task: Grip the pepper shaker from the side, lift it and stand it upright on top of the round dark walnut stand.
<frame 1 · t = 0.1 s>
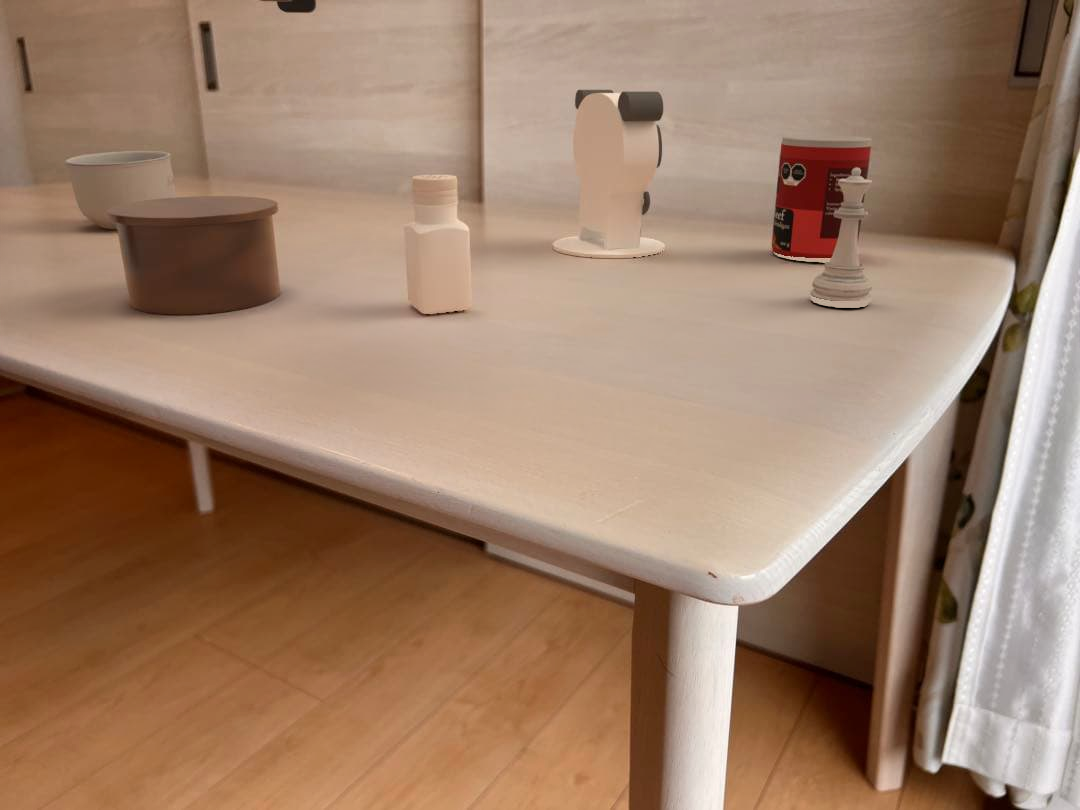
hand: (287, 7, 47), 20 cm above the table, tool pointing down, fingers open, 8 cm apart
chess piece: (839, 305, 66), on the table
walnut stand: (207, 297, 67), on the table
canned food: (812, 258, 83), on the table
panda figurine: (610, 250, 87), on the table
teacup: (124, 226, 100), on the table
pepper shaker: (439, 311, 64), on the table
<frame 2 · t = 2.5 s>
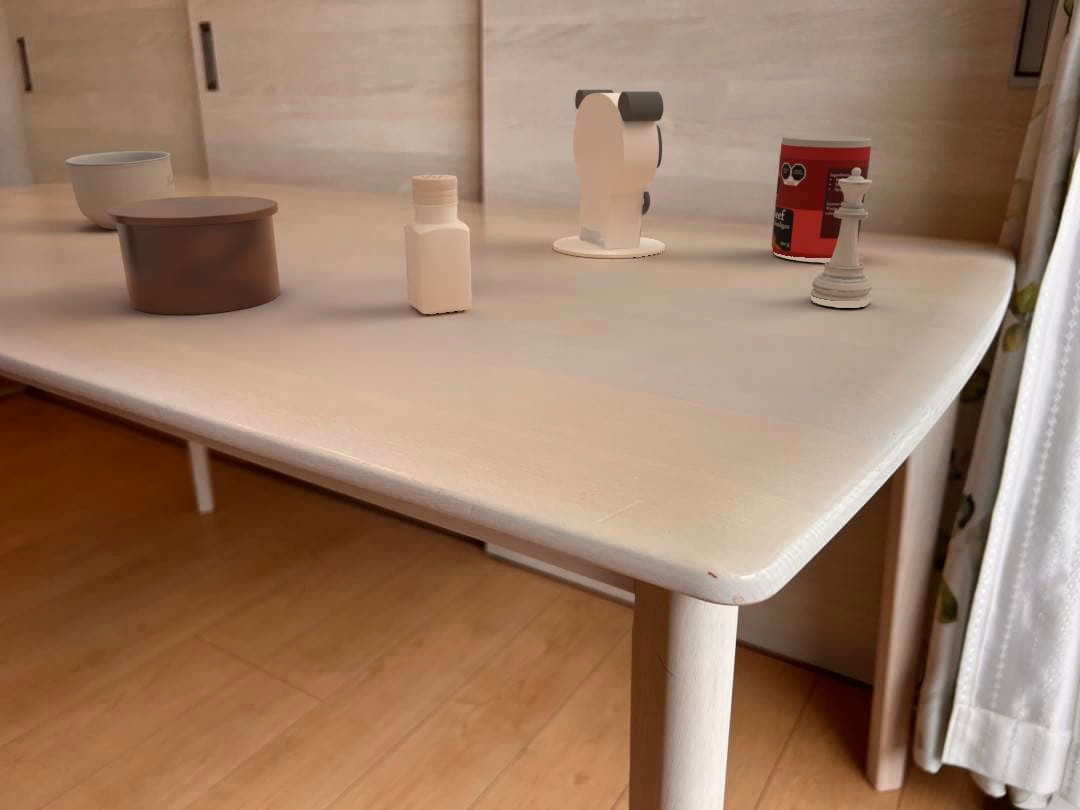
nothing on the table moved.
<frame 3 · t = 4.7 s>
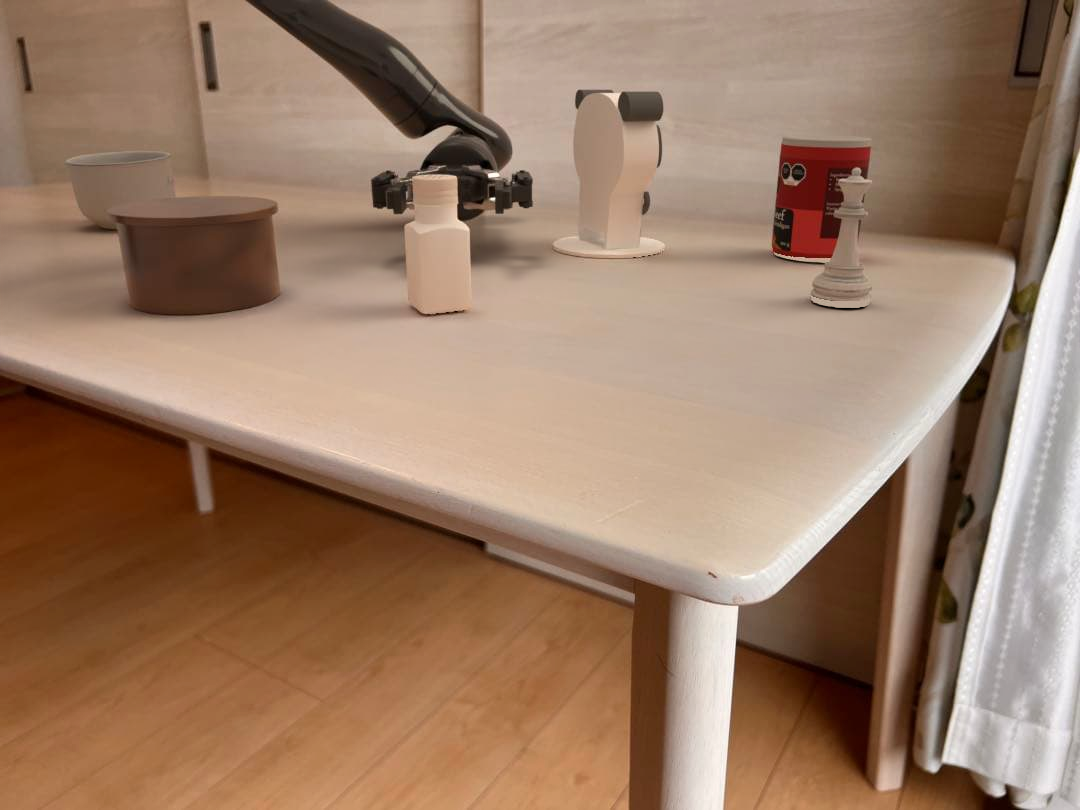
hand: (448, 201, 71), 6 cm above the table, tool horizontal, fingers open, 8 cm apart
nothing on the table moved.
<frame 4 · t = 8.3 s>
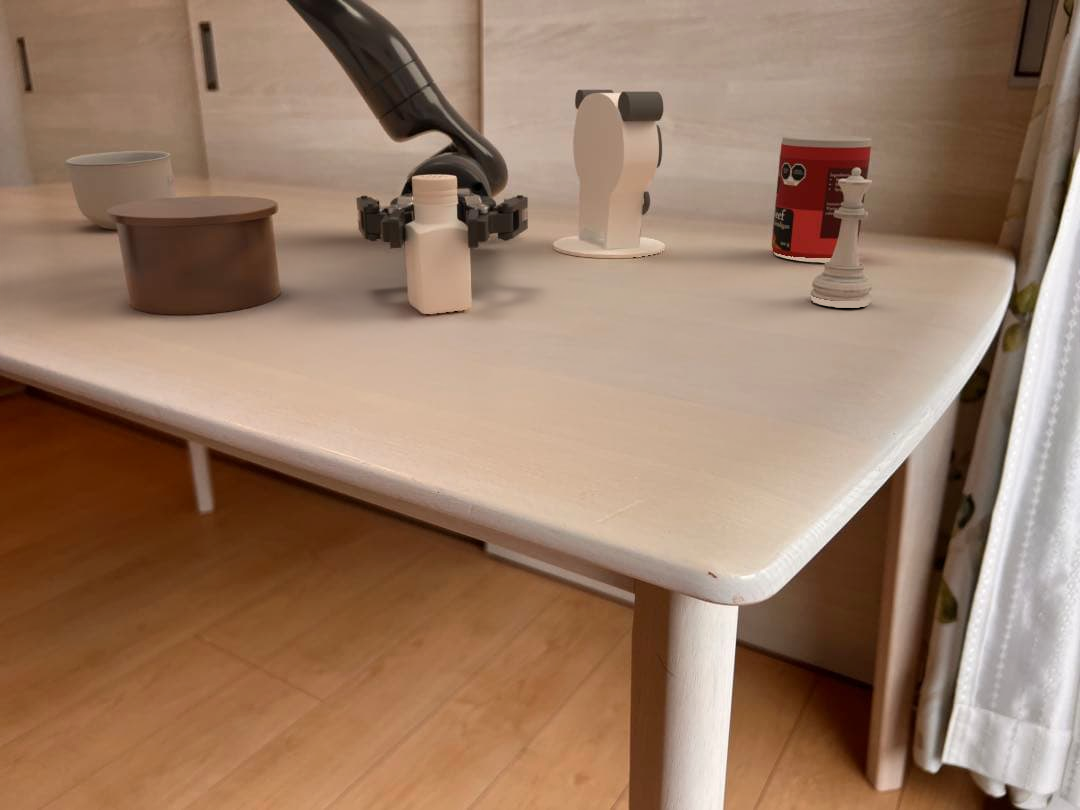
hand: (434, 233, 59), 6 cm above the table, tool horizontal, fingers closed on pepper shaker, 4 cm apart
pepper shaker: (440, 311, 64), on the table, touching gripper
everything else where it was.
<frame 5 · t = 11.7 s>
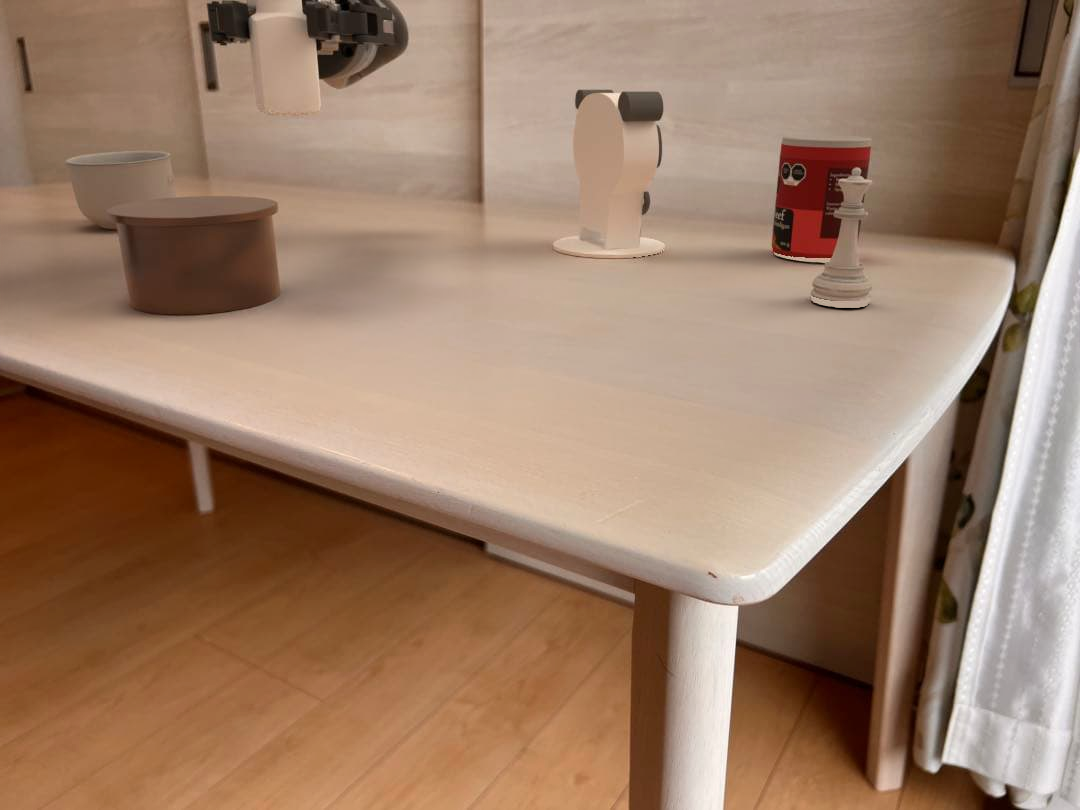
hand: (270, 18, 56), 20 cm above the table, tool horizontal, fingers closed on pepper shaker, 4 cm apart
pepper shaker: (289, 117, 60), point 13 cm above the table, touching gripper
everything else where it was.
when the fingers open (13 cm above the table, at t = 15.1 s): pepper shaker stays where it is, resting on walnut stand.
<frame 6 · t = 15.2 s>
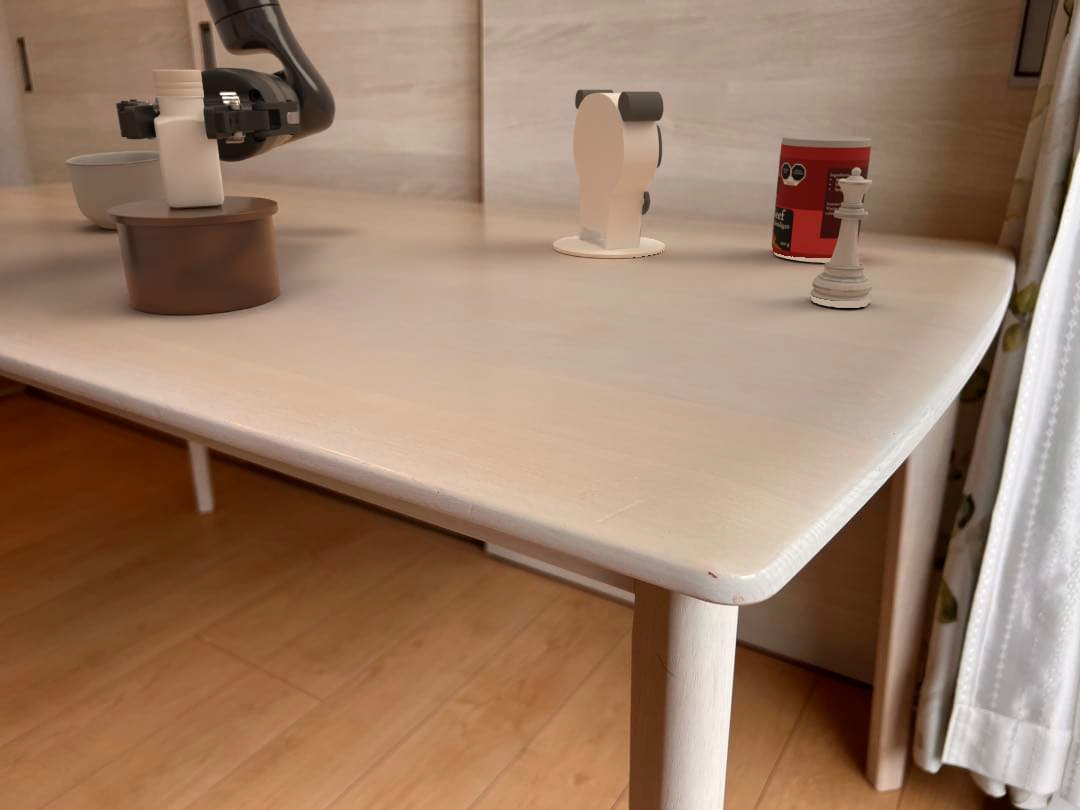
hand: (171, 123, 60), 13 cm above the table, tool horizontal, fingers open, 5 cm apart
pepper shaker: (196, 208, 65), point 7 cm above the table, touching walnut stand
everything else where it was.
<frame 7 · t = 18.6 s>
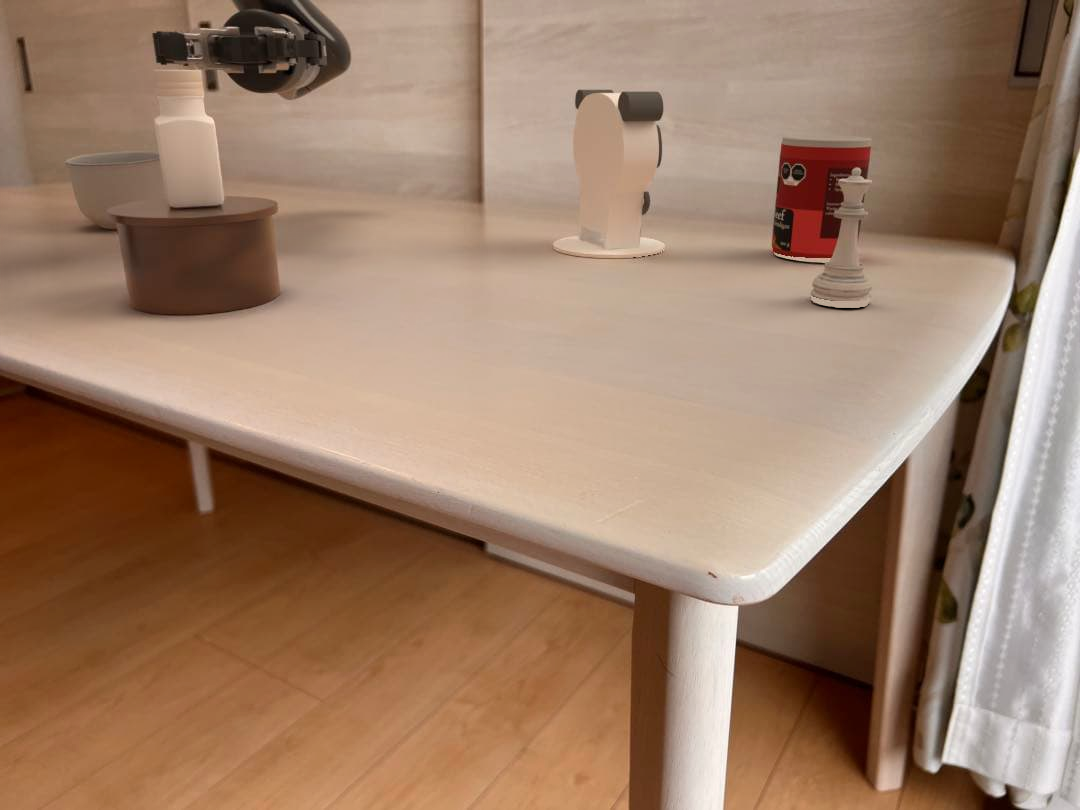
hand: (219, 46, 71), 18 cm above the table, tool horizontal, fingers open, 8 cm apart
nothing on the table moved.
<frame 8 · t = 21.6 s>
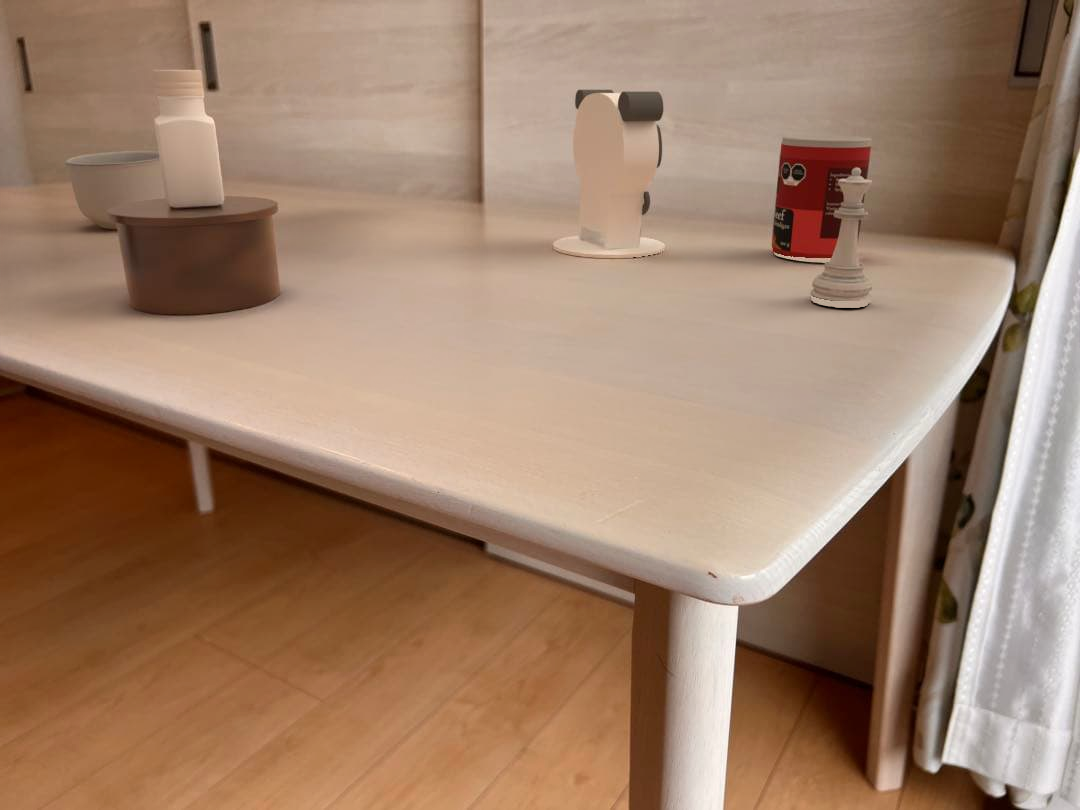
nothing on the table moved.
at the end: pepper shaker inside the target area on the walnut stand (0.1 cm from its centre), point 6.8 cm above the walnut stand's base; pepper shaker tilted 0°; the gripper is holding nothing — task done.
